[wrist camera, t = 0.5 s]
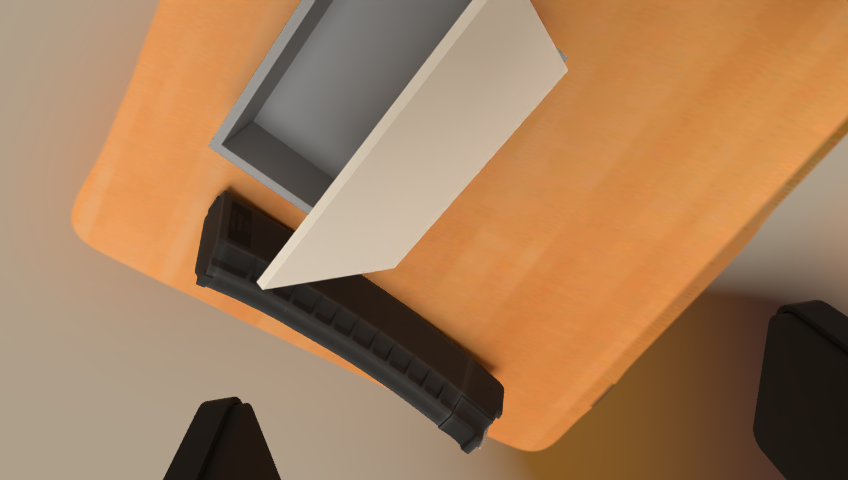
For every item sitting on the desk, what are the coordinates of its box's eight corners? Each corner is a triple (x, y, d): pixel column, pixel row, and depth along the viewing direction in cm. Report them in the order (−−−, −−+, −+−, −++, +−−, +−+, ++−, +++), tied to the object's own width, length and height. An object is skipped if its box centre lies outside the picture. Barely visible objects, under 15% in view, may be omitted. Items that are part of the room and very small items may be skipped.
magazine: (128, 241, 33) (465, 538, 34) (151, 205, 32) (499, 512, 33) (259, 199, 49) (485, 399, 50) (277, 174, 48) (507, 379, 49)
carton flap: (502, -40, 18) (512, -32, 18) (562, 65, 30) (568, 70, 30) (256, 282, 23) (262, 289, 23) (389, 263, 35) (394, 268, 35)
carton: (385, -94, 33) (380, -122, 26) (536, 48, 37) (567, 58, 30) (244, 120, 39) (207, 146, 31) (389, 223, 43) (385, 267, 35)
